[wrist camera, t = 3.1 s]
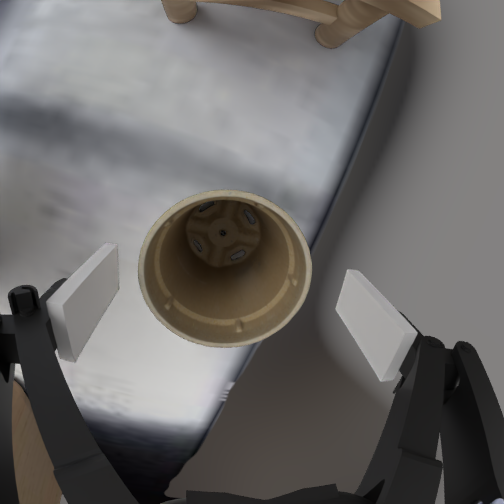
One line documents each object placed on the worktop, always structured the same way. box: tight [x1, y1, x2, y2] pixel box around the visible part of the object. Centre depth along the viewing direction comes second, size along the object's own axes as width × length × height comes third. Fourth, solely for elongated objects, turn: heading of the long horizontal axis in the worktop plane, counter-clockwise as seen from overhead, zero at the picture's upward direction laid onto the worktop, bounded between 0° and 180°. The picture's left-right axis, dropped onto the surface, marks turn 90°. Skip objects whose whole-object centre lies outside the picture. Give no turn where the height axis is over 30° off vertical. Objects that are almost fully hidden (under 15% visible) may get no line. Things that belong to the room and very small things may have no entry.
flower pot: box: [138, 190, 312, 348], centre depth 19 cm, size 9×9×9 cm
